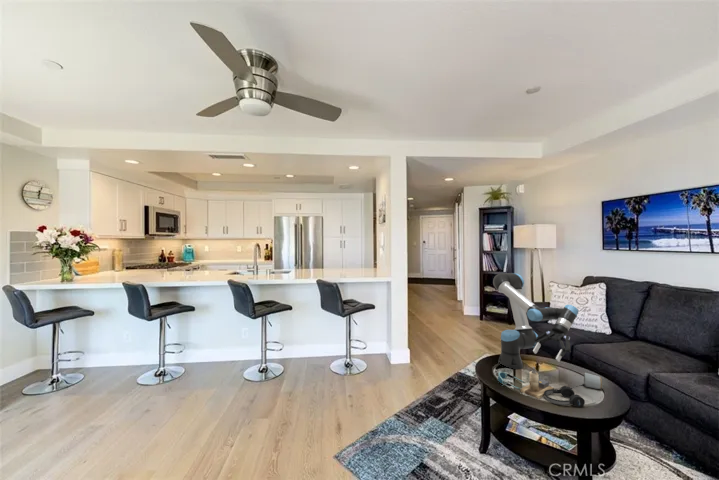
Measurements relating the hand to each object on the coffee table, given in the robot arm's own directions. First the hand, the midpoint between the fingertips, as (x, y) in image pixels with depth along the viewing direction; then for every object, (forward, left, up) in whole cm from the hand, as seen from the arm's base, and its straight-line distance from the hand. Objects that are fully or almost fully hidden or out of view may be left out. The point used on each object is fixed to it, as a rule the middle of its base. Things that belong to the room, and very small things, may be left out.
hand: (545, 356), depth 173 cm
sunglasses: (-15, -9, -20) cm, 27 cm away
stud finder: (-2, -1, -17) cm, 18 cm away
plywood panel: (-2, -6, -19) cm, 20 cm away
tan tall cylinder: (-2, -10, -17) cm, 20 cm away
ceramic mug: (+14, +26, -19) cm, 35 cm away
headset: (+12, -6, -19) cm, 23 cm away
